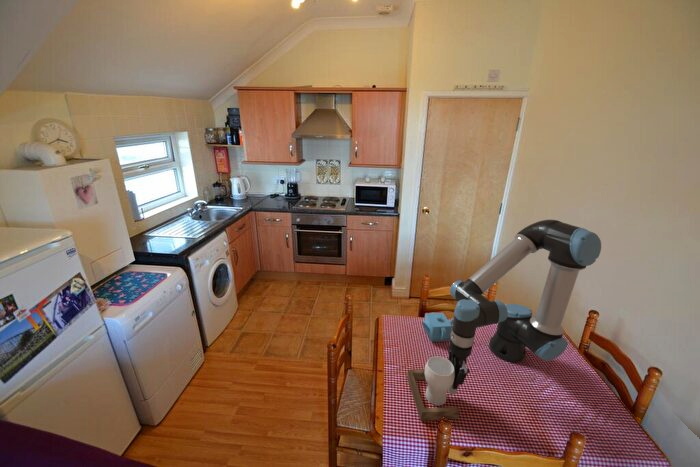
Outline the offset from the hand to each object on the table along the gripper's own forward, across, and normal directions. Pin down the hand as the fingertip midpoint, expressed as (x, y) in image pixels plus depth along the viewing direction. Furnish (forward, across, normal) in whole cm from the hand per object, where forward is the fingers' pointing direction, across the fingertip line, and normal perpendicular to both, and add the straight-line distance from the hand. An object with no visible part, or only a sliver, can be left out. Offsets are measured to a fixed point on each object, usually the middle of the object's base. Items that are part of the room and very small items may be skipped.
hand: (452, 392), depth 114 cm
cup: (+2, 0, -6) cm, 7 cm away
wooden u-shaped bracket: (+2, 0, -7) cm, 8 cm away
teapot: (+2, -34, +7) cm, 35 cm away
